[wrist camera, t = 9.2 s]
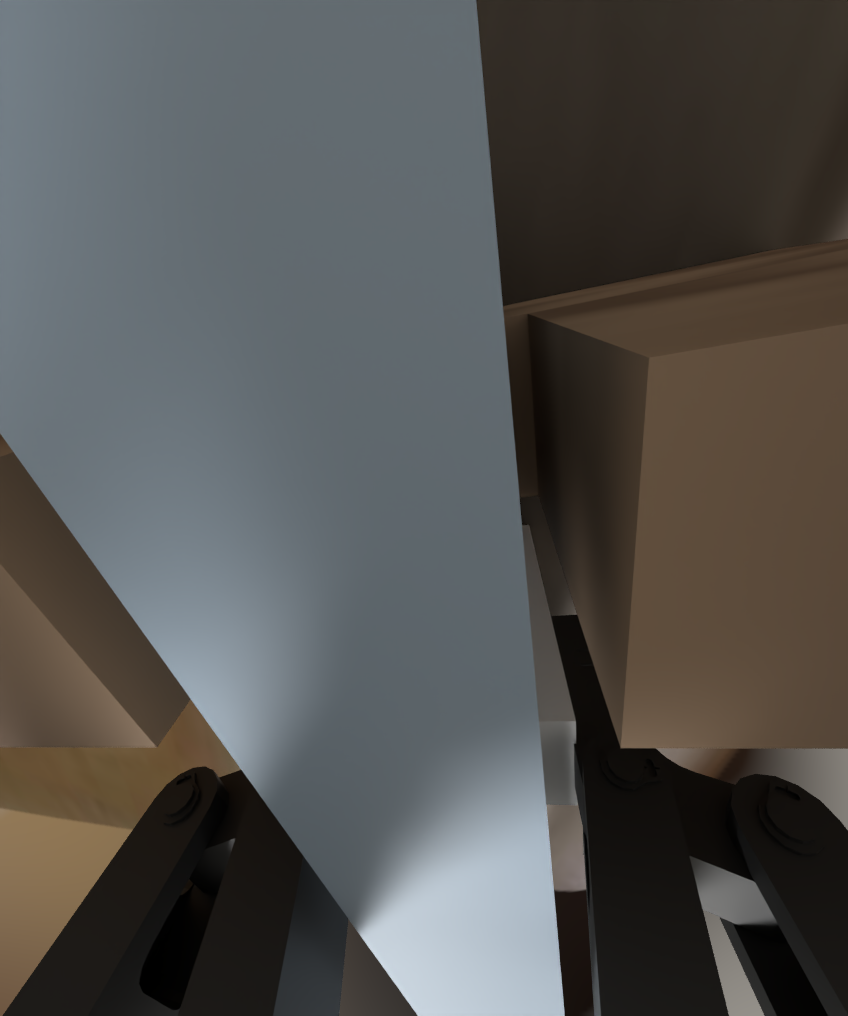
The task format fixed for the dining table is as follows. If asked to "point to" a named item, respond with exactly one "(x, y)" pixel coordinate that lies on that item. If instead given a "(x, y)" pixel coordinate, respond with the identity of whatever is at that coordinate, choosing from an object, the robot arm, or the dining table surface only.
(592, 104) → the dining table surface
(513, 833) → the pale blue flat block
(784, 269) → the light brown wooden block
